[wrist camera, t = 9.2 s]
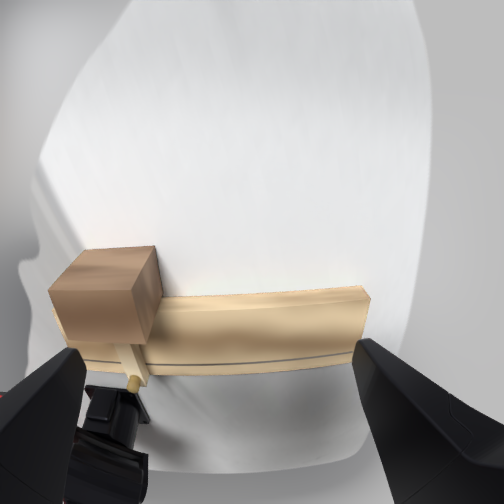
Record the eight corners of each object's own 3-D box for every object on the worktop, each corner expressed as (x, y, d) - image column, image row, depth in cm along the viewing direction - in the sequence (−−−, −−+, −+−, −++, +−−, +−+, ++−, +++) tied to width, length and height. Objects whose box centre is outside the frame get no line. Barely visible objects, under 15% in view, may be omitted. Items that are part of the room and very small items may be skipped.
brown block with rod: (177, 356, 25) (169, 408, 20) (118, 354, 25) (101, 402, 19) (154, 245, 21) (130, 289, 15) (84, 250, 20) (47, 290, 15)
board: (348, 347, 26) (355, 362, 24) (85, 355, 25) (79, 369, 23) (361, 285, 23) (370, 298, 21) (61, 297, 22) (51, 310, 20)
